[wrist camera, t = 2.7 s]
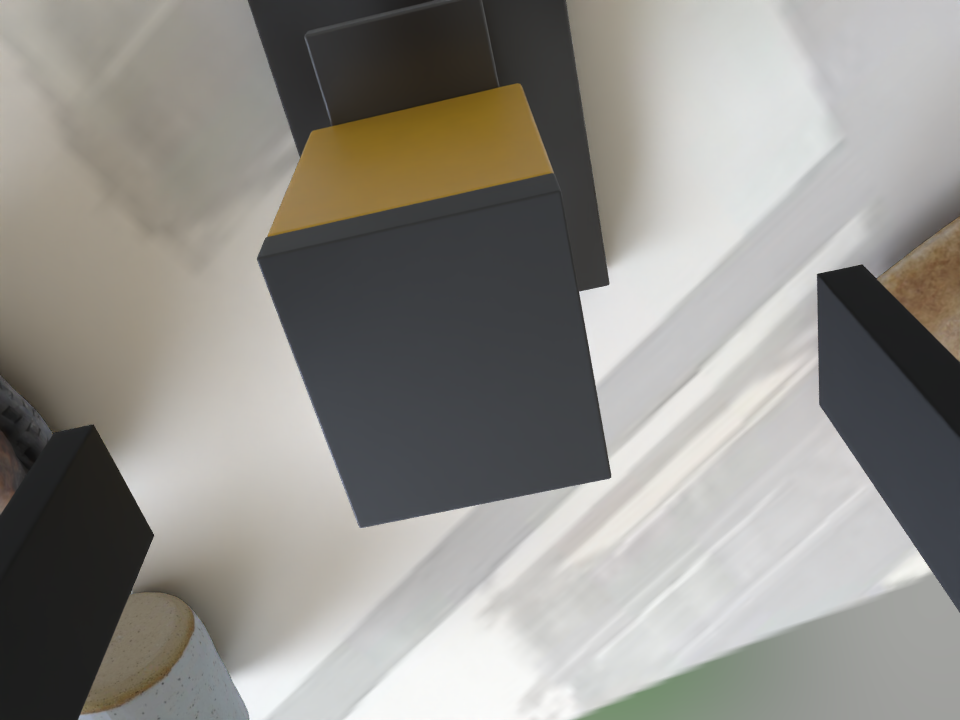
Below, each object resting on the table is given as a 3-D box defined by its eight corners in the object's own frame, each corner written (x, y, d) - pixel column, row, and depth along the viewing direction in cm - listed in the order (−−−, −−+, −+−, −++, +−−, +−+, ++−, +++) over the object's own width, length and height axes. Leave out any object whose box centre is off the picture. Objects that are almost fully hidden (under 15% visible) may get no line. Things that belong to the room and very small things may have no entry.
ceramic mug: (208, 566, 42) (162, 703, 35) (265, 678, 46) (234, 820, 39) (1, 604, 42) (-82, 745, 36) (75, 711, 46) (13, 854, 40)
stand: (361, 324, 35) (342, 459, 28) (241, -45, 28) (168, -3, 21) (604, 272, 35) (654, 395, 27) (543, -120, 28) (586, -106, 20)
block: (378, 345, 26) (359, 529, 19) (309, 130, 22) (255, 258, 15) (562, 305, 25) (612, 479, 18) (520, 81, 22) (561, 190, 15)
